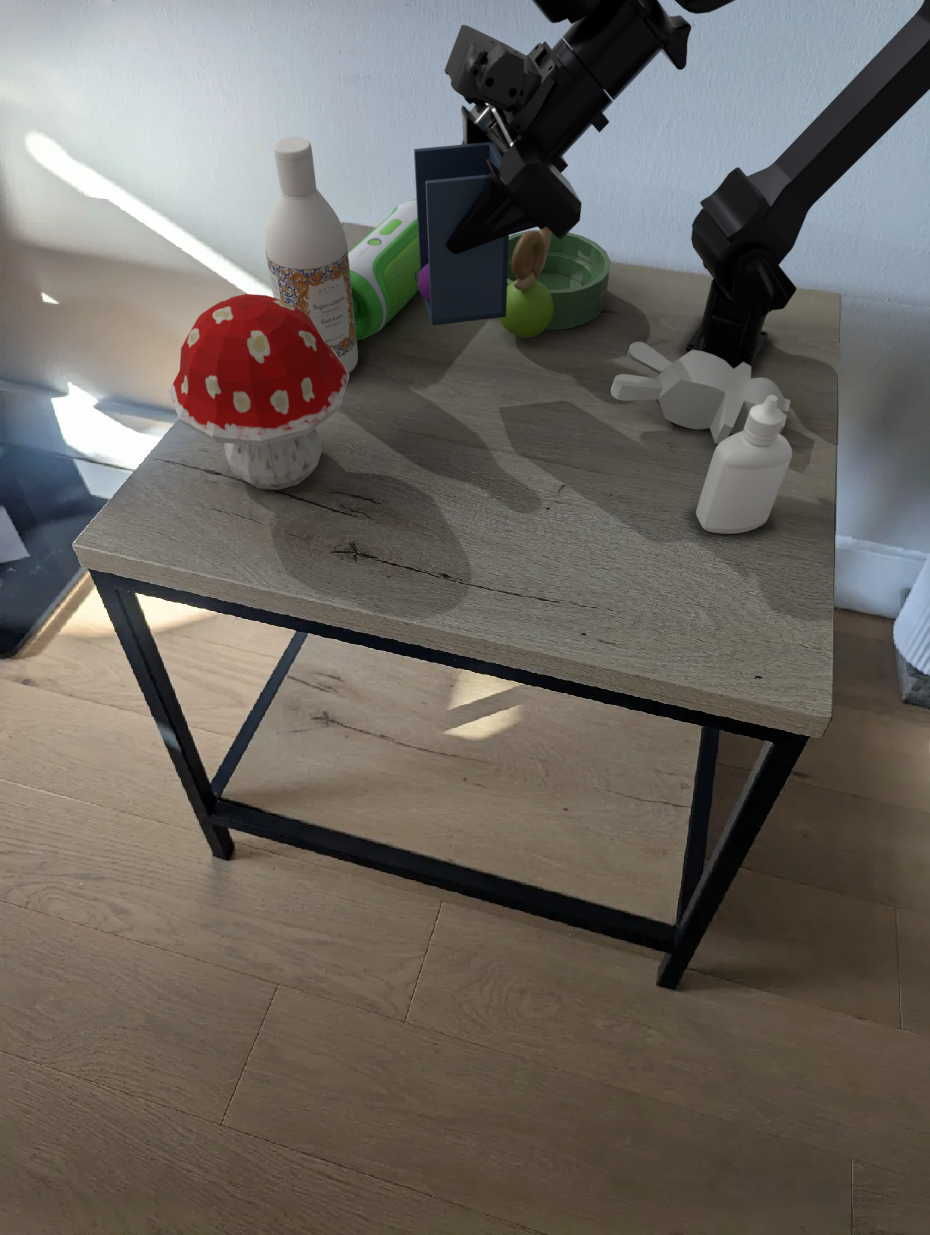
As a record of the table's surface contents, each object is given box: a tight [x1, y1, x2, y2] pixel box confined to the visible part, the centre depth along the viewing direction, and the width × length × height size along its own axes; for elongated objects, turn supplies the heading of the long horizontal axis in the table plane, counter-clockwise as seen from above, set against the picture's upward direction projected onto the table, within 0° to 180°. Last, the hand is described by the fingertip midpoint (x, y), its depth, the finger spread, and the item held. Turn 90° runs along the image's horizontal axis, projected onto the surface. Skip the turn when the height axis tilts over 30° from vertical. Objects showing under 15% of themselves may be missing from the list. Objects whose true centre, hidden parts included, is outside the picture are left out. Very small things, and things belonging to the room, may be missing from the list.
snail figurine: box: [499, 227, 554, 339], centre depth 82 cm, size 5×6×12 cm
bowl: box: [507, 229, 612, 331], centre depth 89 cm, size 12×12×4 cm
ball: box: [418, 263, 430, 303], centre depth 74 cm, size 4×4×4 cm
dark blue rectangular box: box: [413, 142, 510, 326], centre depth 72 cm, size 6×6×12 cm
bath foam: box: [264, 136, 359, 374], centre depth 75 cm, size 7×7×20 cm
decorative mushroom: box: [168, 293, 350, 491], centre depth 68 cm, size 14×14×15 cm
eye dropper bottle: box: [695, 395, 793, 535], centre depth 66 cm, size 4×6×12 cm
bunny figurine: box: [610, 341, 791, 445], centre depth 77 cm, size 10×5×15 cm
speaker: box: [348, 198, 420, 341], centre depth 87 cm, size 18×7×8 cm, turn 154°
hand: (443, 230), depth 71 cm, fingers closed on dark blue rectangular box, 6 cm apart
